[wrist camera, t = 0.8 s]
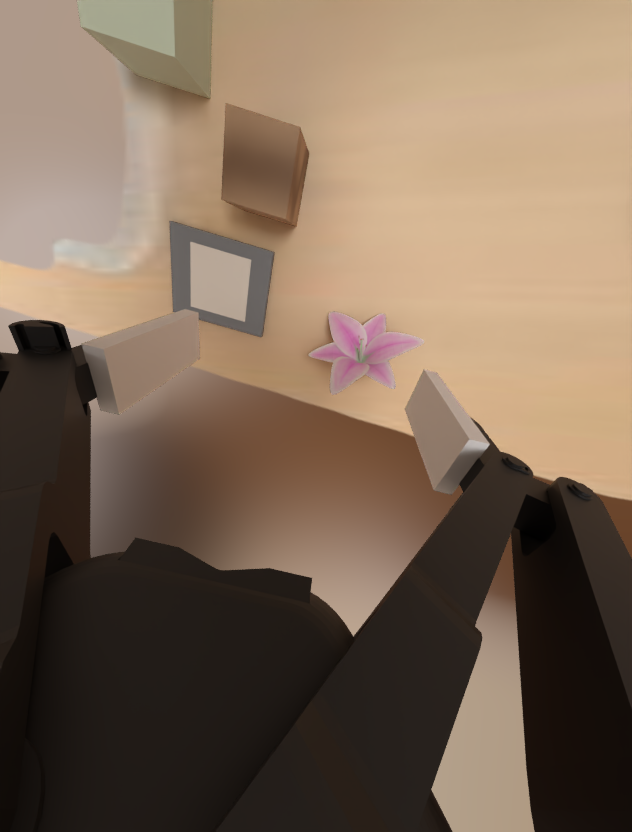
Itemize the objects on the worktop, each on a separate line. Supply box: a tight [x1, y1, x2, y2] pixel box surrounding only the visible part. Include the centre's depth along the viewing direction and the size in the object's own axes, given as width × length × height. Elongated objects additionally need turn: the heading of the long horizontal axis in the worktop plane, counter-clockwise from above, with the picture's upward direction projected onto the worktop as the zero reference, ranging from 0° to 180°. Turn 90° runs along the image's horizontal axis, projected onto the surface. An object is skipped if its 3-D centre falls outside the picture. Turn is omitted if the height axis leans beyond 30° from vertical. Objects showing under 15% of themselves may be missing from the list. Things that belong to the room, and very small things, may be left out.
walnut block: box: [221, 103, 309, 226], centre depth 24 cm, size 6×6×6 cm
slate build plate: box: [170, 221, 274, 337], centre depth 32 cm, size 10×12×1 cm
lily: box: [308, 311, 424, 395], centre depth 32 cm, size 12×12×10 cm
